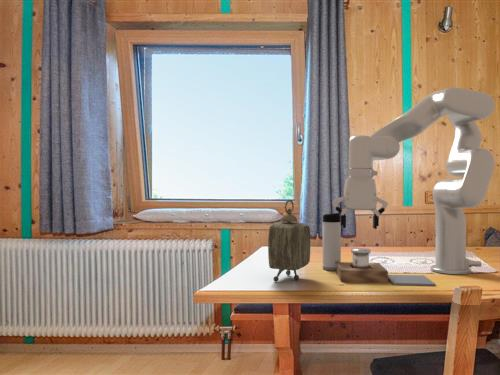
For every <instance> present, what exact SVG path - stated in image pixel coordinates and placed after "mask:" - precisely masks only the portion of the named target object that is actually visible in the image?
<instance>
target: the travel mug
mask: <svg viewBox="0 0 500 375" xmlns="http://www.w3.org/2000/svg"><path fill="white" fill-rule="evenodd" d="M341 226H342V225H341V214H340V213H339V212H334V213H333V212H332V213H326V214H323V215H322V269H323V270H325V271H329V272H330V271H332V272H337V262H342V260H341V259H342V258H341V257H342V255H341V254H342V251H341V250H342V248H341V246H342V243H341V242H342V241H341V240H342V238H341V237H342V234H341V233H342V232H341V230H342V227H341Z"/></svg>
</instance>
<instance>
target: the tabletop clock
mask: <svg viewBox="0 0 500 375" xmlns="http://www.w3.org/2000/svg"><path fill="white" fill-rule="evenodd" d="M289 203H291V208H287V206H288V204H289ZM294 207H295V206H294V201H293V200H292V199H287V200H286V201H285V204H284V209H285V212H286V213H287V214H284V215H283V216H282V218H281V220H280V221H277V222H274V223H271V225H270V226H269V230H268V240H267V241H268V242H267V243H268V244H267V248H268V249H267V250H268V252H267V254H268V257H267V258H268V265H269V268H270V269H274V270H278V272H277V275H276V276H274V277H273V282H276V283H277V282H278V281H279V277H280V275H281V273H283V271H285V275H287V276H290V275H291V274H292V273H291V271H293V273H294V275H293V279H294V280H295V281H298V280H299V279H300V276H299V275H298V274H297V270H301V269H302V268H304V267H306V266H307V265H308V264H309V263H310V261H311V228H310V226H309V225H307V224H305V223H303V222H298V218H297V217H296V215H295V214H292V212H294Z"/></svg>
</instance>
